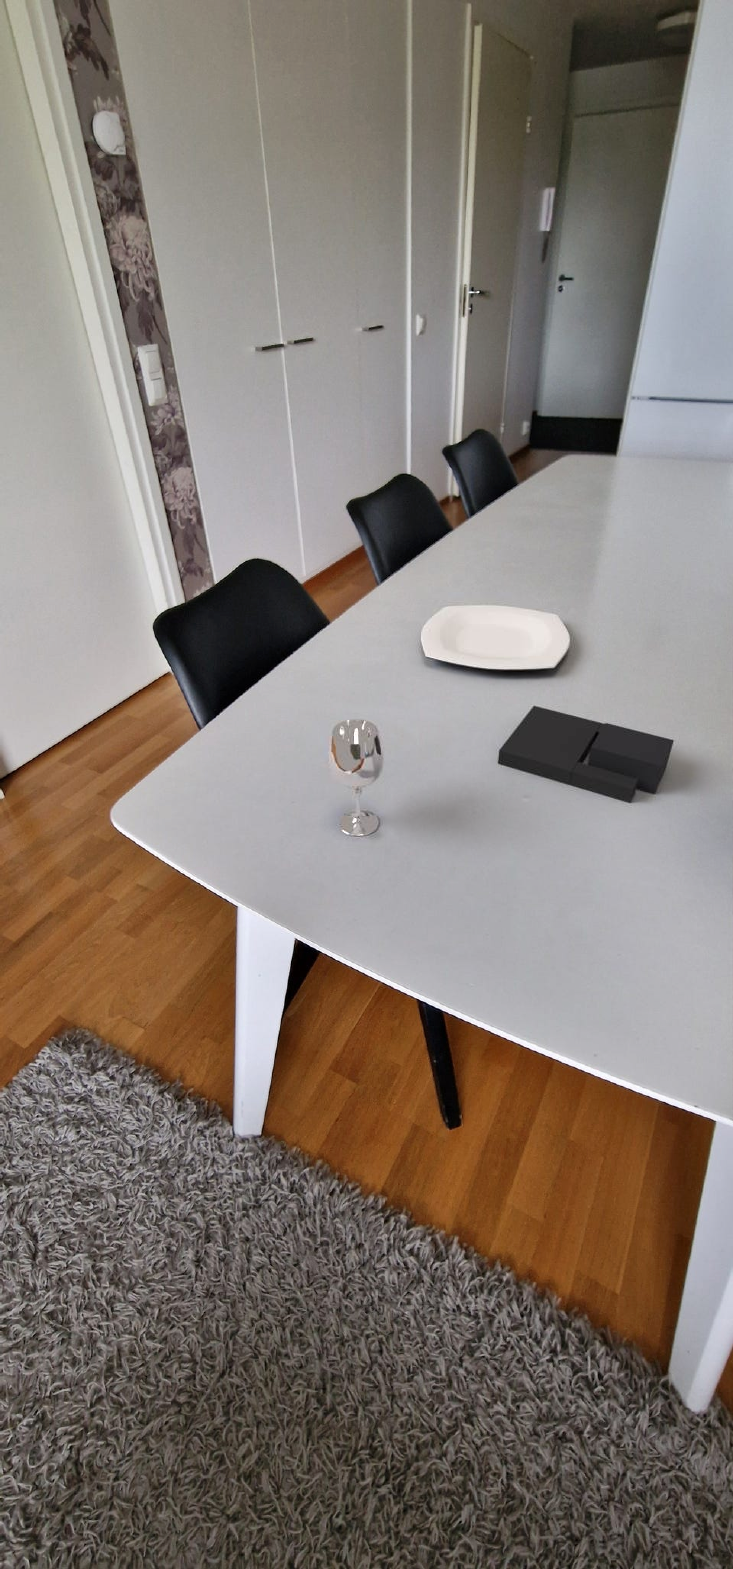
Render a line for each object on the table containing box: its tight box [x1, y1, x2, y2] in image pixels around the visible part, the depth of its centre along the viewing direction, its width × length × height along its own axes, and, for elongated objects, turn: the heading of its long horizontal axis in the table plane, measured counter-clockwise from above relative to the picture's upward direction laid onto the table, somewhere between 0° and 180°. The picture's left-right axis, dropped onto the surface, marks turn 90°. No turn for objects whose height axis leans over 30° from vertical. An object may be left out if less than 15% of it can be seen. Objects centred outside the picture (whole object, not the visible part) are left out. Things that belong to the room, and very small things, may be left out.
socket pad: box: [497, 705, 638, 803], centre depth 86 cm, size 16×12×2 cm
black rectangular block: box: [587, 722, 675, 795], centre depth 83 cm, size 8×6×4 cm
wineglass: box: [327, 718, 385, 837], centre depth 74 cm, size 6×6×12 cm
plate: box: [420, 604, 571, 671], centre depth 111 cm, size 23×23×2 cm
